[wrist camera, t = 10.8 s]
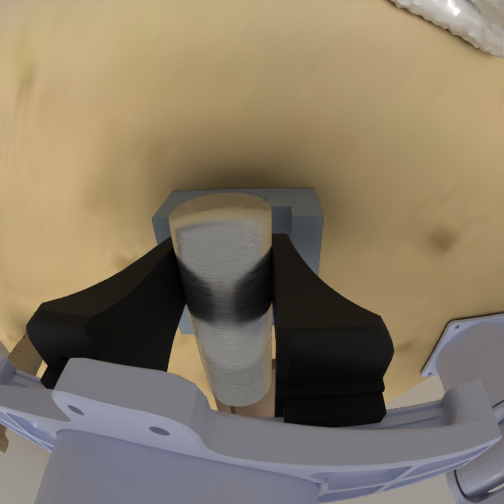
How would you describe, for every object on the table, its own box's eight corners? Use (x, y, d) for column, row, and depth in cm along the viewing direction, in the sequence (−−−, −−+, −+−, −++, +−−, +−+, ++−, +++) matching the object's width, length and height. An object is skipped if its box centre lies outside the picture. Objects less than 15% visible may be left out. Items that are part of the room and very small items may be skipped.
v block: (313, 188, 16) (323, 215, 13) (306, 299, 20) (310, 336, 17) (173, 191, 17) (151, 217, 14) (192, 297, 21) (181, 333, 18)
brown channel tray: (297, 359, 24) (298, 383, 22) (290, 411, 29) (290, 430, 27) (209, 357, 25) (204, 380, 23) (222, 408, 30) (219, 427, 28)
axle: (182, 195, 12) (155, 238, 9) (270, 191, 11) (272, 236, 8) (212, 355, 17) (204, 404, 14) (271, 355, 17) (271, 406, 14)
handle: (23, 337, 28) (-28, 429, 15) (24, 312, 25) (-40, 418, 12) (52, 359, 29) (6, 455, 16) (58, 337, 26) (1, 450, 13)
